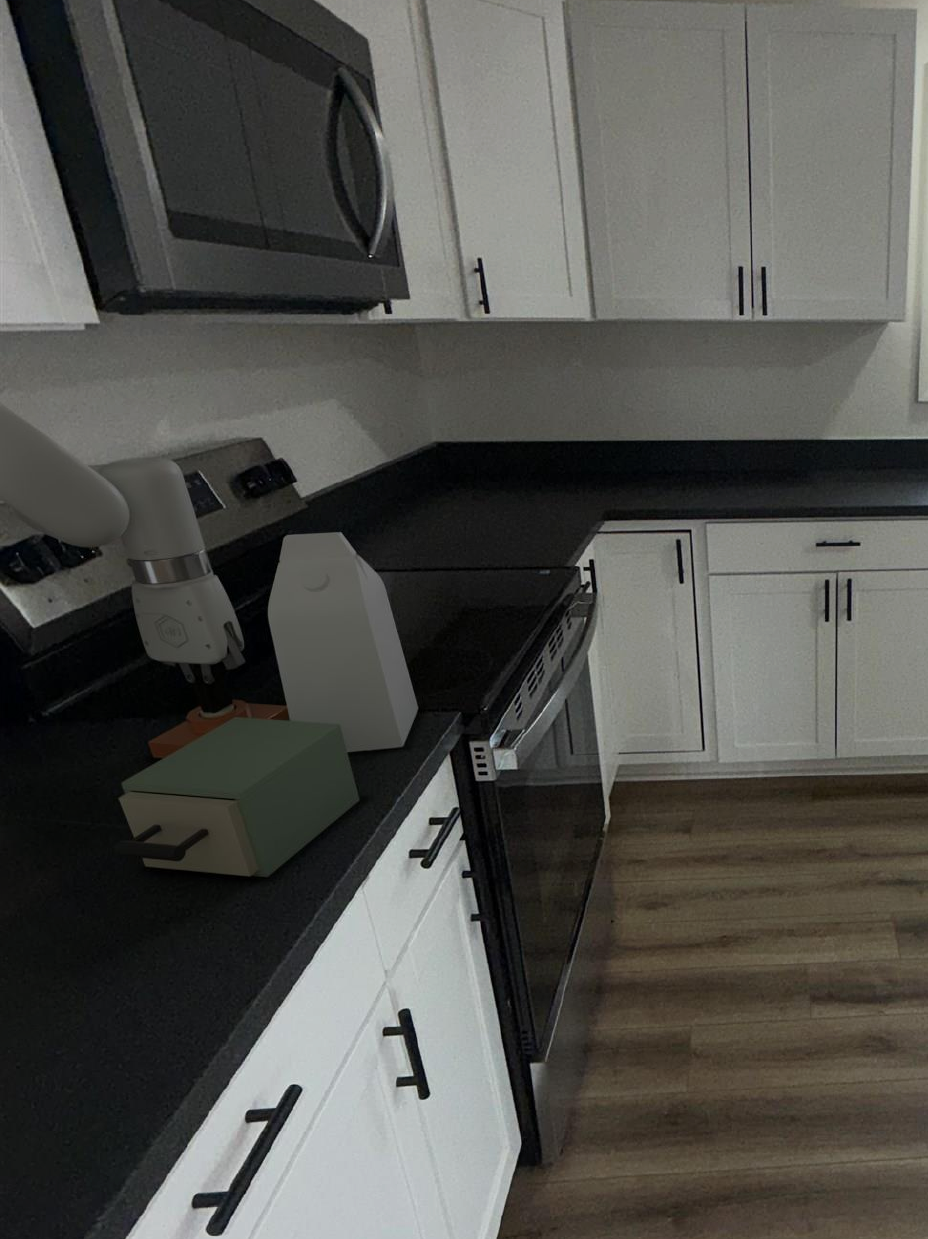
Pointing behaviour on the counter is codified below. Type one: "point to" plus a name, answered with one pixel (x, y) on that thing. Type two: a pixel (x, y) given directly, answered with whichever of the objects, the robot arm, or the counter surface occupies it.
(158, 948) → the counter surface
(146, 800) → the beige drawer
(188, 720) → the control block
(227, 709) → the button
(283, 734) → the green drawer cabinet
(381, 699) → the milk
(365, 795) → the counter surface
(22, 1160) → the counter surface
